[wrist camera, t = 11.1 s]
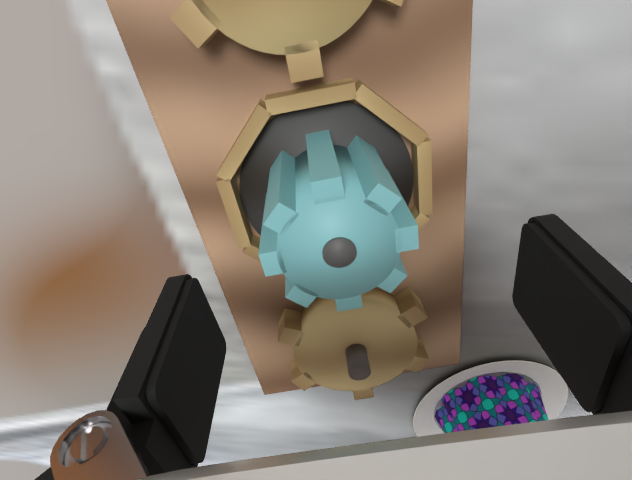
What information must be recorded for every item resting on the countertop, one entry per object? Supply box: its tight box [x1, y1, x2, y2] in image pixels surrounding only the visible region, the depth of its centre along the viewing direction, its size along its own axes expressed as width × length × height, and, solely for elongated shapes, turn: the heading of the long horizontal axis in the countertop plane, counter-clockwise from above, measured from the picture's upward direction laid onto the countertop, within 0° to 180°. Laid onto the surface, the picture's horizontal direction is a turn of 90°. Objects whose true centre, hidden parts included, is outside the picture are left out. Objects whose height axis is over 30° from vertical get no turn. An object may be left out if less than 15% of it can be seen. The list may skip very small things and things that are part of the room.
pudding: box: [413, 360, 568, 437], centre depth 29 cm, size 12×12×5 cm
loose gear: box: [258, 130, 419, 312], centre depth 16 cm, size 6×6×5 cm
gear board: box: [106, 0, 473, 400], centre depth 17 cm, size 28×13×4 cm, turn 10°
